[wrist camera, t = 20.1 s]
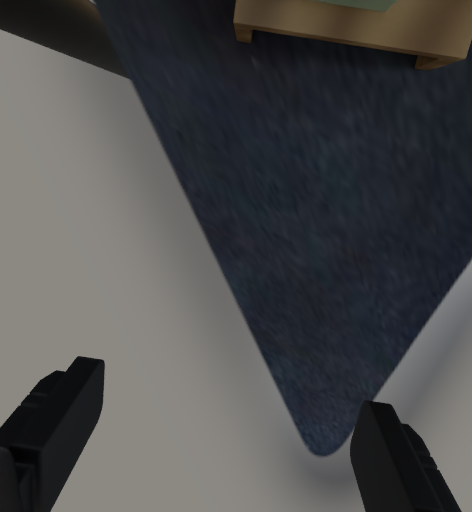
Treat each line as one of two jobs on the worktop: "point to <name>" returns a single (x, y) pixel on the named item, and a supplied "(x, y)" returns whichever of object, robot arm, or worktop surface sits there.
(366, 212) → the worktop surface
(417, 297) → the worktop surface
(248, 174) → the worktop surface
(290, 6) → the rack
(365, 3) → the tissue box
